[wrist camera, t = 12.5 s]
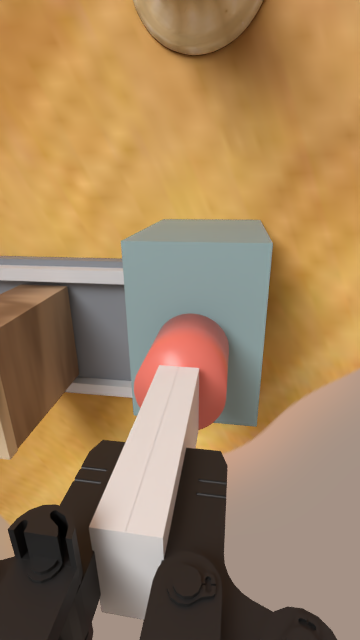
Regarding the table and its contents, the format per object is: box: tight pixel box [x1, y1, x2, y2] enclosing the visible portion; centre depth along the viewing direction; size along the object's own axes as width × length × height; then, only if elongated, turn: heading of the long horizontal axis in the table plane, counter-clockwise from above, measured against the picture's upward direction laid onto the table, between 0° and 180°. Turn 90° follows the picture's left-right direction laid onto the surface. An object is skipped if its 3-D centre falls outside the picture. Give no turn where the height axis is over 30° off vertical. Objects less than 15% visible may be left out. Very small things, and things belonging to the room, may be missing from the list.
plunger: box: [134, 314, 229, 430], centre depth 15 cm, size 4×4×4 cm
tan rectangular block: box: [0, 284, 79, 460], centre depth 24 cm, size 4×8×10 cm, turn 1°
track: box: [0, 256, 132, 398], centre depth 30 cm, size 22×12×2 cm, turn 91°
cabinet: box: [121, 219, 273, 427], centre depth 22 cm, size 7×11×10 cm, turn 1°
